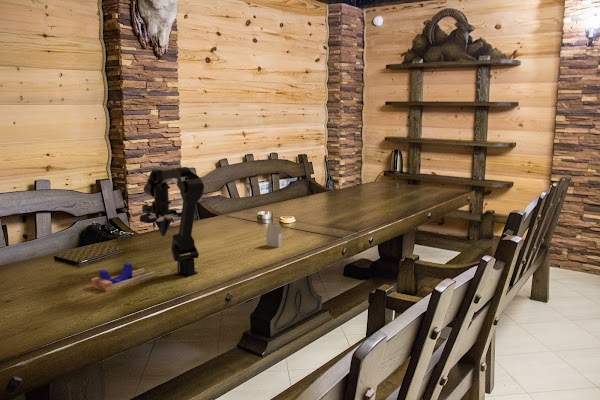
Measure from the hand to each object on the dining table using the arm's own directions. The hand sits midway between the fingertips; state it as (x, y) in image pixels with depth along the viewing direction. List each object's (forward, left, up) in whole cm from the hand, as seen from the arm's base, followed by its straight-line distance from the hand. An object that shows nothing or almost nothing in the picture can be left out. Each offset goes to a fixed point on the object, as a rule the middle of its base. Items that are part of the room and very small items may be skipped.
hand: (163, 235), depth 228 cm
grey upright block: (-19, -50, -12) cm, 55 cm away
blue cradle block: (-5, +26, -12) cm, 30 cm away
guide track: (-6, +24, -12) cm, 27 cm away
